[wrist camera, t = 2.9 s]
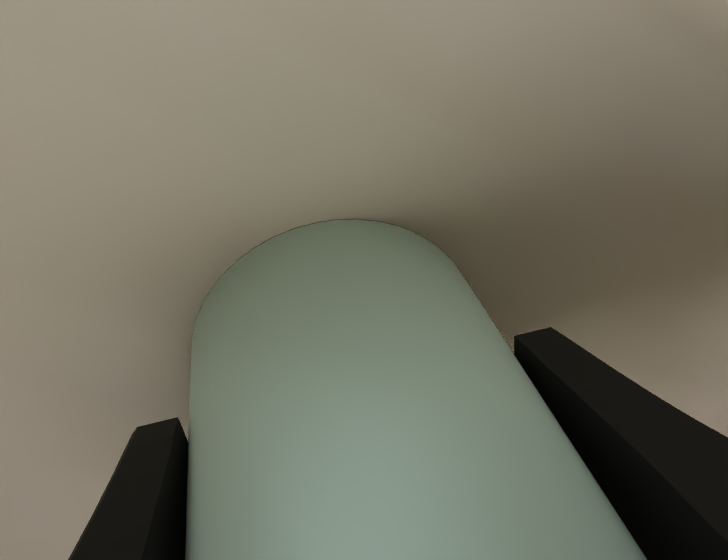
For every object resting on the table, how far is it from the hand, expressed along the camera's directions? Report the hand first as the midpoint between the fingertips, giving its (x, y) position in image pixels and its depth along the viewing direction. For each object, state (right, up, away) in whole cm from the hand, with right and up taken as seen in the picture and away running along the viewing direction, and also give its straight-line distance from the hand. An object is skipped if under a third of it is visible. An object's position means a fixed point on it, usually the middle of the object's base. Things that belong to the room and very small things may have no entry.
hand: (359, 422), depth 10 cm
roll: (0, +1, +2) cm, 2 cm away
